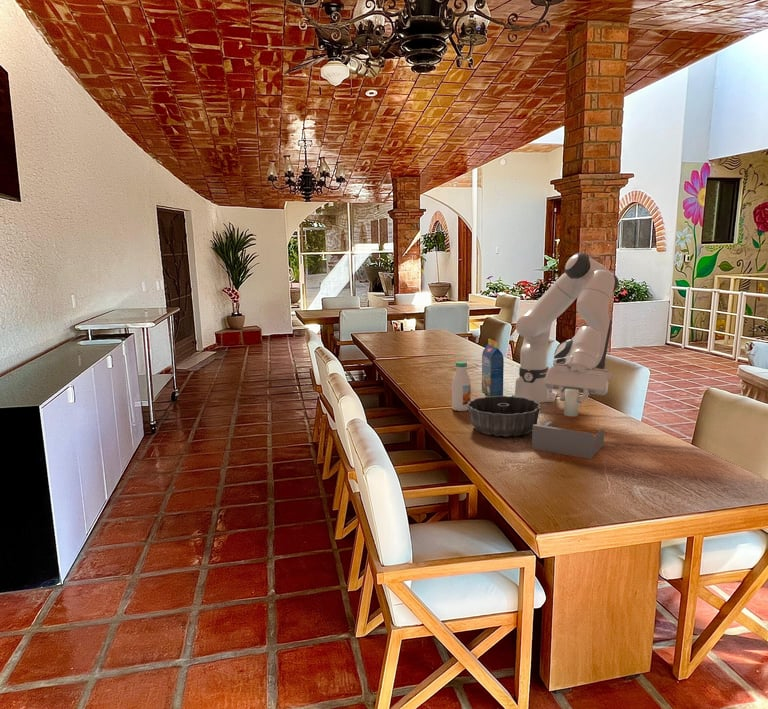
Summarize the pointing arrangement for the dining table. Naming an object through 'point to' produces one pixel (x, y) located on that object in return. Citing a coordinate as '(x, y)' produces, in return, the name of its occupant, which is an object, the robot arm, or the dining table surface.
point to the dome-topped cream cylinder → (571, 402)
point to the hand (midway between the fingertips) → (570, 401)
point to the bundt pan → (503, 415)
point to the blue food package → (492, 370)
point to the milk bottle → (461, 388)
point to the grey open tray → (566, 441)
